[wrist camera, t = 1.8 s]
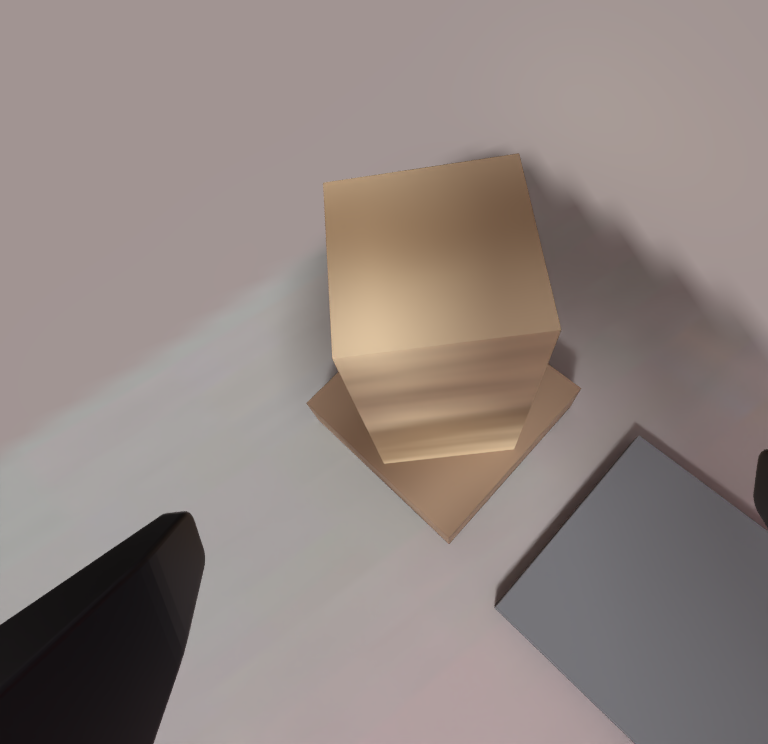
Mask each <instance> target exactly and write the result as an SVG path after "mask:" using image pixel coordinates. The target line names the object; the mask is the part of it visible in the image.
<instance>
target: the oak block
mask: <svg viewBox="0 0 768 744" xmlns="http://www.w3.org/2000/svg"><path fill="white" fill-rule="evenodd" d="M323 188H324V206H325V226H326V246H327V265H328V284H329V303H330V322H331V341H332V359H333V361H334V363H335V365H336V367H337V369H338V371H339V373H340V375H341V377H342V379H343V381H344V383H345V385H346V387H347V390H348V392H349V394H350V396H351V398H352V400H353V402H354V404H355V406H356V408H357V410H358V412H359V414H360V416H361V418H362V420H363V422H364V424H365V426H366V428H367V430H368V432H369V434H370V436H371V438H372V440H373V442H374V444H375V446H376V448H377V450H378V453H379V455H380V457H381V459H382V461H383V463H384V464H387V463H396V462H405V461H414V460H423V459H432V458H441V457H450V456H459V455H468V454H477V453H486V452H495V451H504V450H513V449H514V448H515V446H516V443H517V441H518V438H519V435H520V433H521V430H522V428H523V425H524V423H525V420H526V418H527V415H528V413H529V410H530V408H531V405H532V403H533V400H534V398H535V395H536V393H537V390H538V387H539V385H540V382H541V380H542V377H543V375H544V372H545V370H546V367H547V365H548V362H549V360H550V357H551V355H552V352H553V350H554V347H555V345H556V342H557V340H558V337H559V334H560V332H561V327H560V322H559V318H558V314H557V310H556V306H555V302H554V297H553V293H552V289H551V285H550V281H549V276H548V272H547V268H546V264H545V260H544V255H543V251H542V247H541V243H540V239H539V235H538V230H537V226H536V222H535V218H534V214H533V209H532V205H531V201H530V197H529V193H528V189H527V184H526V180H525V176H524V172H523V168H522V163H521V159H520V155H519V154H512V155H505V156H499V157H492V158H485V159H479V160H472V161H465V162H459V163H452V164H445V165H439V166H432V167H425V168H419V169H412V170H405V171H399V172H392V173H385V174H379V175H372V176H366V177H359V178H352V179H346V180H339V181H332V182H326V183H323Z"/></svg>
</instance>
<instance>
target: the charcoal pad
mask: <svg viewBox="0 0 768 744" xmlns="http://www.w3.org/2000/svg"><path fill="white" fill-rule="evenodd" d="M494 608H495V609H496V610H497V611H498V612H499V613H501V614H502V615H503V616H504V617H505V618H506V619H507V620H508V621H509V622H510V623H511V624H512V625H513V626H514V627H515V628H516V629H517V630H518V631H519V632H520V633H521V634H522V635H523V636H524V637H525V638H526V639H527V640H528V641H529V642H530V643H531V644H533V645H534V646H535V647H536V648H537V649H538V650H539V651H540V652H541V653H542V654H543V655H544V656H545V657H546V658H547V659H548V660H549V661H550V662H551V663H552V664H553V665H554V666H555V667H556V668H557V669H558V670H559V671H560V672H561V673H562V674H563V675H565V676H566V677H567V678H568V679H569V680H570V681H571V682H572V683H573V684H574V685H575V686H576V687H577V688H578V689H579V690H580V691H581V692H582V693H583V694H584V695H585V696H586V697H587V698H588V699H589V700H590V701H591V702H592V703H593V704H594V705H595V706H597V707H598V708H599V709H600V710H601V711H602V712H603V713H604V714H605V715H606V716H607V717H608V718H609V719H610V720H611V721H612V722H613V723H614V724H615V725H616V726H617V727H618V728H619V729H620V730H621V731H622V732H623V733H624V734H625V735H626V736H627V737H629V738H630V739H631V740H632V741H633V742H634V743H635V744H768V531H767V530H766V529H764V528H763V527H762V526H760V525H759V524H757V523H756V522H755V521H753V520H752V519H751V518H749V517H748V516H747V515H745V514H744V513H743V512H741V511H740V510H739V509H737V508H736V507H735V506H733V505H732V504H731V503H729V502H728V501H727V500H725V499H724V498H723V497H721V496H720V495H719V494H717V493H716V492H714V491H713V490H712V489H710V488H709V487H708V486H706V485H705V484H704V483H702V482H701V481H700V480H698V479H697V478H696V477H694V476H693V475H692V474H690V473H689V472H688V471H686V470H685V469H684V468H682V467H681V466H680V465H678V464H677V463H676V462H674V461H673V460H672V459H670V458H669V457H667V456H666V455H665V454H663V453H662V452H661V451H659V450H658V449H657V448H655V447H654V446H653V445H651V444H650V443H649V442H647V441H646V440H645V439H643V438H642V437H641V436H638V437H637V438H636V439H635V440H634V441H633V442H632V443H631V444H630V445H629V447H628V448H627V449H626V450H625V451H624V453H623V454H622V455H621V456H620V457H619V459H618V460H617V461H616V462H615V463H614V465H613V466H612V467H611V468H610V469H609V471H608V472H607V473H606V474H605V475H604V477H603V478H602V479H601V480H600V481H599V483H598V484H597V485H596V486H595V487H594V489H593V490H592V491H591V492H590V493H589V495H588V496H587V497H586V498H585V499H584V501H583V502H582V503H581V504H580V505H579V507H578V508H577V509H576V510H575V511H574V513H573V514H572V515H571V516H570V517H569V519H568V520H567V521H566V522H565V523H564V525H563V526H562V527H561V528H560V529H559V531H558V532H557V533H556V534H555V535H554V537H553V538H552V539H551V540H550V541H549V543H548V544H547V545H546V546H545V547H544V549H543V550H542V551H541V552H540V553H539V555H538V556H537V557H536V558H535V559H534V561H533V562H532V563H531V564H530V565H529V567H528V568H527V569H526V570H525V571H524V573H523V574H522V575H521V576H520V577H519V579H518V580H517V581H516V582H515V583H514V585H513V586H512V587H511V588H510V589H509V591H508V592H507V593H506V594H505V595H504V596H503V598H502V599H501V600H500V601H499V602H498V604H497V605H496V606H495V607H494Z"/></svg>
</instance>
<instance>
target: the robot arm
mask: <svg viewBox="0 0 768 744" xmlns="http://www.w3.org/2000/svg"><path fill="white" fill-rule="evenodd" d="M753 497H754V503H755V506H756V509H757V511H758V513H759V514H760V516H761V518H762V519H763V521H764V523H765V524H766V526H767V527H768V449H765V450H764V451H762V452H761V453H760V455H759V458H758V463H757V471H756V478H755V486H754V495H753ZM204 565H205V553H204V548H203V545H202V542H201V539H200V536H199V533H198V530H197V527H196V524H195V521H194V519H193V516H192V515H191V514H190V513H189V512H187V511H182V512H173V513H165V514H163V515H161V516H159V517H158V518H157V519H155V520H154V521H152V522H151V523H149V524H148V525H146V526H145V527H143V528H142V529H140V530H139V531H137V532H136V533H135V534H133V535H132V536H130V537H129V538H127V539H126V540H124V541H123V542H121V543H120V544H118V545H117V546H115V547H114V548H112V549H111V550H110V551H108V552H107V553H105V554H104V555H102V556H101V557H99V558H98V559H96V560H95V561H93V562H92V563H90V564H89V565H88V566H86V567H85V568H83V569H82V570H80V571H79V572H77V573H76V574H74V575H73V576H71V577H70V578H68V579H67V580H66V581H64V582H63V583H61V584H60V585H58V586H57V587H55V588H54V589H52V590H51V591H49V592H48V593H46V594H45V595H44V596H42V597H41V598H39V599H38V600H36V601H35V602H33V603H32V604H30V605H29V606H27V607H26V608H24V609H23V610H22V611H20V612H19V613H17V614H16V615H14V616H13V617H11V618H10V619H8V620H7V621H5V622H4V623H2V624H1V625H0V744H153V743H154V740H155V737H156V735H157V732H158V729H159V726H160V723H161V720H162V717H163V714H164V711H165V708H166V705H167V703H168V700H169V697H170V694H171V691H172V688H173V685H174V682H175V679H176V676H177V673H178V671H179V668H180V664H181V661H182V658H183V655H184V651H185V648H186V644H187V640H188V636H189V631H190V627H191V623H192V618H193V614H194V610H195V605H196V601H197V596H198V592H199V588H200V583H201V579H202V575H203V570H204Z"/></svg>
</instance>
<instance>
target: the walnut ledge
mask: <svg viewBox="0 0 768 744" xmlns="http://www.w3.org/2000/svg"><path fill="white" fill-rule="evenodd" d="M580 389H581V388H580V387H579V386H577V385H576V384H574V383H573V382H572V381H570V380H569V379H568V378H566V377H565V376H564V375H562V374H561V373H560V372H558V371H557V370H556V369H554V368H553V367H552V366H550V365H549V364H548V365H547V367H546V370H545V372H544V375H543V377H542V380H541V382H540V385H539V387H538V390H537V393H536V395H535V398H534V400H533V403H532V405H531V408H530V410H529V413H528V415H527V418H526V420H525V423H524V425H523V428H522V430H521V433H520V435H519V438H518V441H517V443H516V446H515V448H514V449H513V450H504V451H495V452H486V453H477V454H468V455H459V456H450V457H441V458H432V459H423V460H414V461H405V462H396V463H387V464H384V463H383V461H382V459H381V457H380V455H379V453H378V450H377V448H376V446H375V444H374V442H373V440H372V438H371V436H370V434H369V432H368V430H367V428H366V426H365V424H364V422H363V420H362V418H361V416H360V414H359V412H358V410H357V408H356V406H355V404H354V402H353V400H352V398H351V396H350V394H349V392H348V390H347V387H346V385H345V383H344V381H343V379H342V377H341V375H340V373H339V372H338V373H337V374H336V375H335V376H334V377H333V378H332V379H331V380H330V381H329V382H328V383H327V384H326V385H325V386H323V387H322V388H321V389H320V390H319V391H318V392H317V393H316V394H315V395H314V396H313V397H312V398H311V399H310V400H309V401H308V402H307V405H308V406H309V407H310V409H311V410H312V412H313V413H314V414H315V416H316V417H317V418H318V420H319V421H320V422H321V423H322V424H324V425H325V426H326V427H327V428H328V429H329V430H330V431H331V432H332V433H333V434H334V435H335V436H336V437H337V438H338V439H339V440H340V441H341V442H342V443H343V444H345V445H346V446H347V447H348V448H349V449H350V450H351V451H352V452H353V453H354V454H355V455H356V456H357V457H358V458H359V459H360V460H361V461H362V462H363V463H364V464H365V465H367V466H368V467H369V468H370V469H371V470H372V471H373V472H374V473H375V474H376V475H377V476H378V477H379V478H380V479H381V480H382V481H383V482H384V483H385V484H387V485H388V486H389V487H390V488H391V489H392V490H393V491H394V492H395V493H396V494H397V495H398V496H399V497H400V498H401V499H402V500H403V501H404V502H405V503H406V504H407V505H409V506H410V507H411V508H412V509H413V510H414V511H415V512H416V513H417V514H418V515H419V516H420V517H421V518H422V519H423V520H424V521H425V522H426V523H427V524H428V525H430V526H431V527H432V528H433V529H434V530H435V531H436V532H437V533H438V534H439V535H440V536H441V537H442V538H443V539H444V540H445V541H446V542H447V543H448V544H450V542H451V541H452V540H453V539H454V538H455V537H456V536H457V535H458V533H459V532H460V531H461V530H462V529H463V528H464V527H465V525H466V524H467V523H468V522H469V521H470V520H471V519H472V518H473V516H474V515H475V514H476V513H477V512H478V511H479V510H480V508H481V507H482V506H483V505H484V504H485V503H486V502H487V501H488V499H489V498H490V497H491V496H492V495H493V494H494V493H495V491H496V490H497V489H498V488H499V487H500V486H501V485H502V484H503V482H504V481H505V480H506V479H507V478H508V477H509V476H510V474H511V473H512V472H513V471H514V470H515V469H516V468H517V467H518V465H519V464H520V463H521V462H522V461H523V460H524V459H525V457H526V456H527V455H528V454H529V453H530V452H531V451H532V450H533V448H534V447H535V446H536V445H537V444H538V443H539V442H540V440H541V439H542V438H543V437H544V436H545V435H546V434H547V433H548V431H549V430H550V429H551V428H552V427H553V426H554V425H555V423H556V422H557V421H558V420H559V419H560V418H561V417H562V416H563V414H564V413H565V412H566V411H567V410H568V409H569V408H570V406H571V405H572V403H573V401H574V400H575V398H576V396H577V394H578V393H579V391H580Z"/></svg>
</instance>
